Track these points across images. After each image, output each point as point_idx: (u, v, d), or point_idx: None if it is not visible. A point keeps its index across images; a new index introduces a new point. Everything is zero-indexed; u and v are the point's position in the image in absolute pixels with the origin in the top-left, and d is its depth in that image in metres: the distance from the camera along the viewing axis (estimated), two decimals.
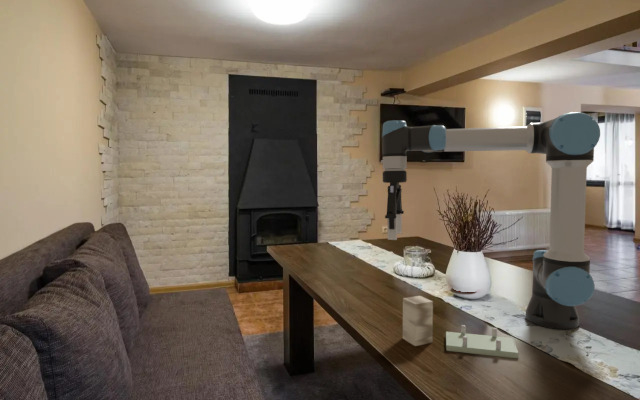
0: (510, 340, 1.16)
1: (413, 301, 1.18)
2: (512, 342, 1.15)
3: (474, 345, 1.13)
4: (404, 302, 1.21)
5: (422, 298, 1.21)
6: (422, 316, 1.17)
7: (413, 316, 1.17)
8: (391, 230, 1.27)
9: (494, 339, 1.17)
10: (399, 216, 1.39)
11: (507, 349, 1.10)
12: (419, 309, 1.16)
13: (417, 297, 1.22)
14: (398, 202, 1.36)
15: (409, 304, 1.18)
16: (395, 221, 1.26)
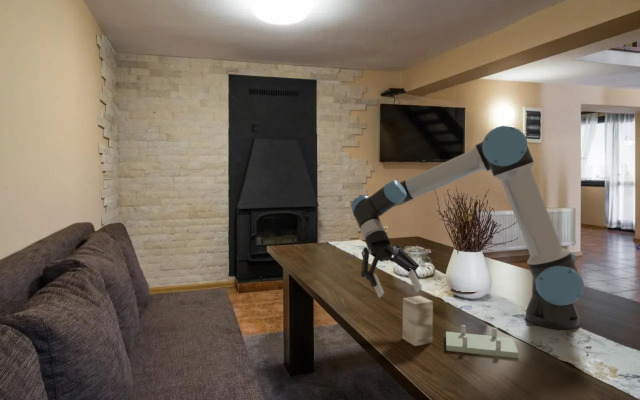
0: (510, 340, 1.16)
1: (413, 301, 1.18)
2: (512, 342, 1.15)
3: (474, 345, 1.13)
4: (404, 302, 1.21)
5: (422, 298, 1.21)
6: (422, 316, 1.17)
7: (413, 316, 1.17)
8: (376, 287, 1.25)
9: (494, 339, 1.17)
10: (411, 272, 1.32)
11: (507, 349, 1.10)
12: (419, 309, 1.16)
13: (417, 297, 1.22)
14: (398, 260, 1.34)
15: (409, 304, 1.18)
16: (374, 277, 1.26)
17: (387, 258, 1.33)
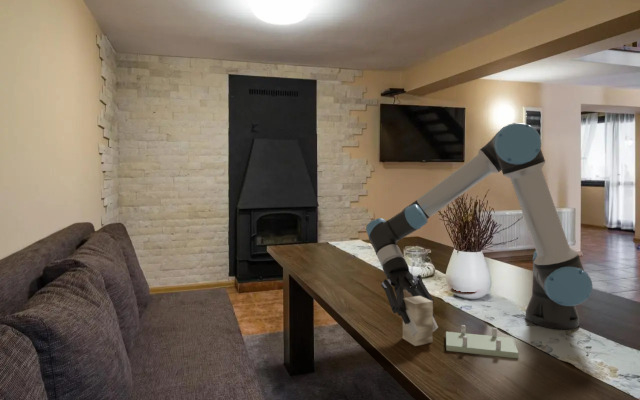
0: (510, 340, 1.16)
1: (413, 301, 1.18)
2: (512, 342, 1.15)
3: (474, 345, 1.13)
4: None
5: (422, 298, 1.21)
6: (422, 316, 1.17)
7: (413, 316, 1.17)
8: (409, 324, 1.17)
9: (494, 339, 1.17)
10: None
11: (507, 349, 1.10)
12: (419, 309, 1.16)
13: (417, 297, 1.22)
14: (415, 292, 1.24)
15: (409, 304, 1.18)
16: (407, 313, 1.18)
17: (407, 287, 1.25)
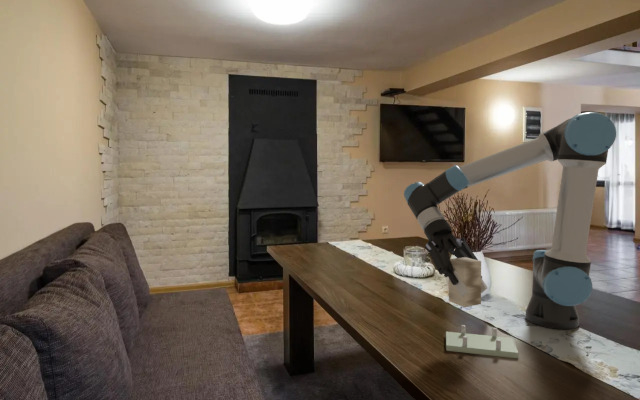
0: (510, 340, 1.16)
1: (460, 261, 1.14)
2: (512, 342, 1.15)
3: (474, 345, 1.13)
4: None
5: (469, 259, 1.16)
6: (470, 276, 1.13)
7: (461, 276, 1.12)
8: (458, 285, 1.13)
9: (494, 339, 1.17)
10: None
11: (507, 349, 1.10)
12: (467, 269, 1.12)
13: (463, 258, 1.17)
14: (460, 254, 1.20)
15: (457, 264, 1.14)
16: (455, 274, 1.14)
17: (451, 249, 1.21)
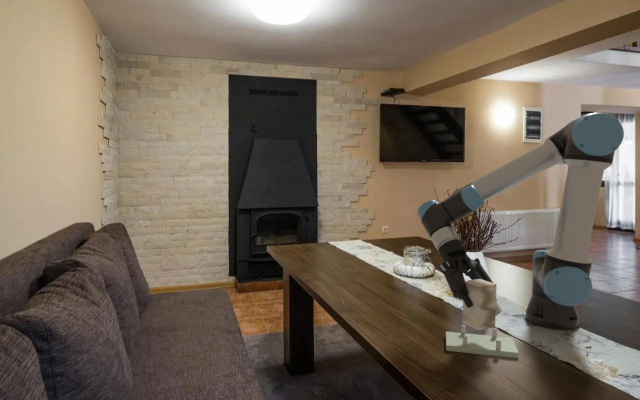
0: (510, 340, 1.16)
1: (476, 284, 1.13)
2: (512, 342, 1.15)
3: (474, 345, 1.13)
4: None
5: (484, 281, 1.16)
6: (485, 299, 1.12)
7: (476, 299, 1.12)
8: (472, 308, 1.12)
9: (494, 339, 1.17)
10: None
11: (507, 349, 1.10)
12: (483, 292, 1.11)
13: (478, 280, 1.17)
14: (474, 275, 1.19)
15: (472, 287, 1.13)
16: (470, 296, 1.13)
17: (465, 270, 1.20)
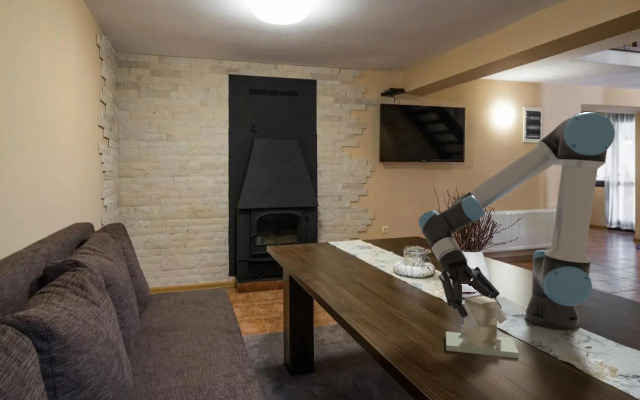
0: (510, 340, 1.16)
1: (477, 300, 1.13)
2: (512, 342, 1.15)
3: (474, 345, 1.13)
4: (466, 301, 1.16)
5: (485, 297, 1.16)
6: (487, 316, 1.12)
7: (478, 316, 1.12)
8: (467, 318, 1.12)
9: None
10: None
11: (507, 349, 1.10)
12: (484, 309, 1.12)
13: (479, 296, 1.17)
14: (477, 285, 1.20)
15: (473, 304, 1.13)
16: (464, 306, 1.13)
17: (467, 281, 1.20)
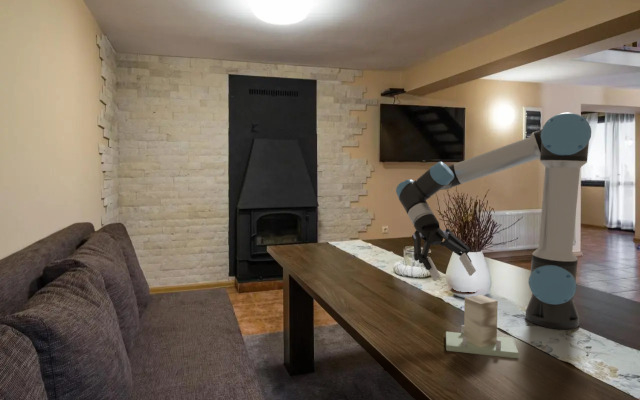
0: (510, 340, 1.16)
1: (477, 300, 1.13)
2: (512, 342, 1.15)
3: (474, 345, 1.13)
4: (466, 301, 1.16)
5: (485, 297, 1.16)
6: (487, 316, 1.12)
7: (478, 316, 1.12)
8: (431, 270, 1.23)
9: None
10: (463, 256, 1.29)
11: (507, 349, 1.10)
12: (484, 309, 1.12)
13: (479, 296, 1.17)
14: (449, 244, 1.31)
15: (473, 304, 1.13)
16: (429, 260, 1.23)
17: (438, 242, 1.31)
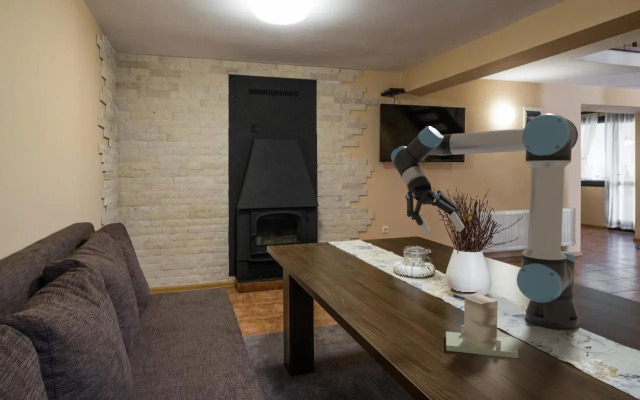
0: (510, 340, 1.16)
1: (477, 300, 1.13)
2: (512, 342, 1.15)
3: (474, 345, 1.13)
4: (466, 301, 1.16)
5: (485, 297, 1.16)
6: (487, 316, 1.12)
7: (478, 316, 1.12)
8: (422, 225, 1.32)
9: None
10: (453, 214, 1.38)
11: (507, 349, 1.10)
12: (484, 309, 1.12)
13: (479, 296, 1.17)
14: (440, 203, 1.40)
15: (473, 304, 1.13)
16: (420, 216, 1.32)
17: (430, 201, 1.40)
